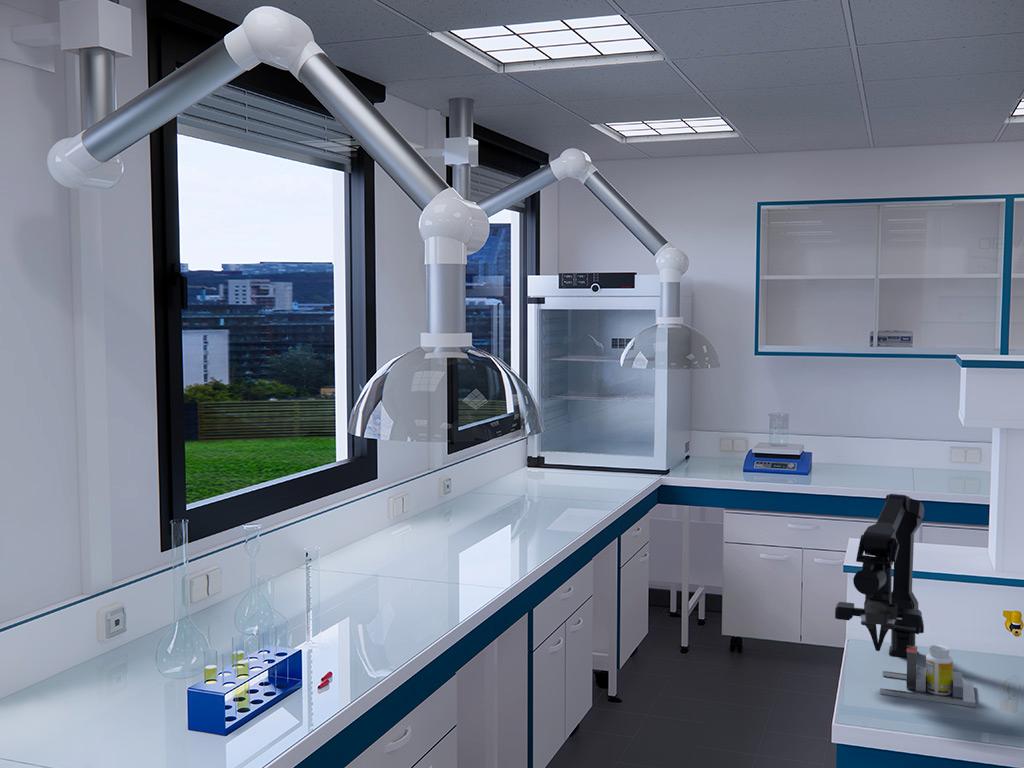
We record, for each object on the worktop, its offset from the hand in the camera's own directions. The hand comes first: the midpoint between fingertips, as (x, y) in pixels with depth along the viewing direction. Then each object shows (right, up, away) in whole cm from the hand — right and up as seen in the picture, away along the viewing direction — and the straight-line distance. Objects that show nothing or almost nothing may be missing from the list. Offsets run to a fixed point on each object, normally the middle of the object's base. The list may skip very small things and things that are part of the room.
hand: (877, 650), depth 217 cm
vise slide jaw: (+7, -7, -4) cm, 11 cm away
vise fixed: (+9, -8, -5) cm, 13 cm away
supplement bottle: (+11, -8, -6) cm, 15 cm away
